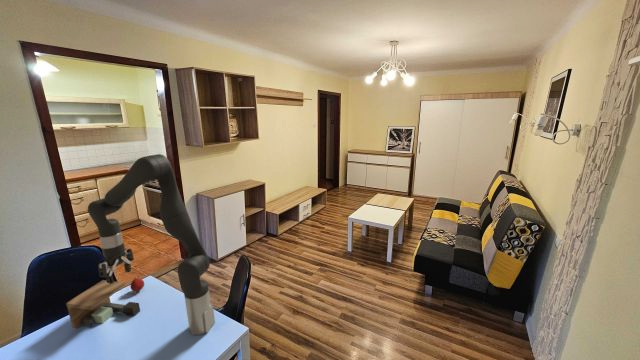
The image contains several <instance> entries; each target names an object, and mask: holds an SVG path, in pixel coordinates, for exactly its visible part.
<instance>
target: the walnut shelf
mask: <svg viewBox="0 0 640 360" xmlns="http://www.w3.org/2000/svg"><path fill="white" fill-rule="evenodd" d="M113 281H114V283H112V284H109V283H107V281H106V279H105V280H104V279H103V280H100V282H97V283H96V284H95V285H93V286H91V287H89V288H88V289H86V290H85V291H83V292H81V293H80V294H78V295H77V296H75V297H74V298H72V299H71V300H69V301H68V302H66V303H65V304H66V308H67V312H68V315H69V319H70V322H71V323H70V324H71V326H72V329H73V330H74V329H75V330H76V329H77V328H80V327H81V326H83V325H82V321H81V320H82V319H83V318H84V317H86V316H87V315H88V314H90V313H91V312H93V311H94V310H95V309H97V308H98V307H100V306H101V305H102V304H104V303H105V302H108V303H112V302H111V298H110V297H111V296H113V295H114V294H116V293H117V292H118V291H120V290H121V289H122V288H124V287H126V283H125V282H122V281H115V280H113Z"/></svg>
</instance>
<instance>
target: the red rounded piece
mask: <svg viewBox="0 0 640 360" xmlns="http://www.w3.org/2000/svg"><path fill="white" fill-rule="evenodd" d="M144 287H145V281H144V279H142V278H139V277H138V276H136V277H135V278H134V279H133V280H132V281H131V282H130V289H131V290H132V291H133V292H140V291H141V290H142V289H143V288H144Z"/></svg>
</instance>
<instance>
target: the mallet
mask: <svg viewBox="0 0 640 360" xmlns="http://www.w3.org/2000/svg"><path fill="white" fill-rule="evenodd" d="M101 307H109V308H112V310H113V313H117V314H124V316H128V317H135V316H137V315H138V314H139V313H140V312H141V307H140V304H139V302H136V301H134V302H133V301H128V302H127V303H126V304H123V303H122V304H121V303H114V302H111V303H108V302H105V303H104V304H102V305H101V306H100V307H98V308H97V309H95V310H94V311H93V312H91V313H90V314H88V315H87V316H86V317H84V318H83V319H82V320H81V321H82V325H81V326H82V327H88V328H89V327H90V328H91V327H92V326H93V325H95V322H93V318H92V314H93V313H94V312H96V311H97V310H99V309H100V308H101Z"/></svg>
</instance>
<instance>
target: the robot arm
mask: <svg viewBox="0 0 640 360" xmlns="http://www.w3.org/2000/svg"><path fill="white" fill-rule="evenodd" d="M173 169H174V168H173V167H172V163H171V161H170V160H169V159H168V157H167V156H165V155H164V154H162V153H161V154H160V153H157V154H153V155H147V156H142V157H140V158H137V160H135V162H133V164H132V166H130V168H129V169H128V170H127V172H126V174H125V175H124V176H123V177H122V178H121V180H119V182H117V183H116V184H115V185H114V186H113V187H112V188H110V189H109V190H108V191H107V192H106V193H105V194H104V197H103V198H100V199H96V200H94V201H92V202H90V203H89V204H88V206H87V213H88V214H89V217H90V218H91V219H92V221H93V223H95V226H96V227H97V231H98V235H99V242H100V243H99V244H100V247H101V250H102V256H103V257H104V262H102V263H99V262H98V264H97V269H98V274H99V277H100V278H105V280H106V281H107V283H109V284H112V283H114V281H115V280H114V278H113V277H114V276H113V272H114V271H115V269H116V268H117V267H118V266H120V265H122V264H123V266H124V271H125V273H130V272H131V271H132V265H131V262H132V261H134V259H135V258H134V254H133V250H132V248H127V247H125V246H126V245H125V242H124V237H123V234H122V230H121V227H120V222H119V220H118V219H117V218H107V216H109V215H112V214H114V213H116V212H118V211H120V210H121V209H122V207H123V205H124V204H125V203H127V202H128V200H130V199H131V198H132V197H134V195H135V193H136V192H137V189H138V188H139V187H140V186H143V185H144V184H146V183H149V182H153V181H157V182H158V185H159V187H160V192H161V193H160V194H161V196H160V206H159V217H160V220H161V222H162V224H163V226H164V229H165V231H166V232H167V233H168V234H169V235H170V236H172V238H174V239H176V241H177V240H178V242H180V243H181V244H182V245H183V246H184V248H185V250H186V253H187V255H188V256H187V257H186V258H185V259H184V260H183V261H181V262H180V263H179V264H178V266H177V277H178V280H179V285H180V289H181V291H182V292H183V295H184V301H185V302H184V304H185V310H186V314H187V322H188V323H187V324H188V329H189V333H190V334H191V335H194V336H199V335H200V336H201V335H203V334H208V333H209V331H210V330H211V329H212V327H213V326H214V324H215V323H216V320H215V319H216V318H215V311H214V304H213V303H211V297H210V288H209V282H208V281H207V280H205V279H201V277H202V276H203V275H204V274H205V273H206V272H207V271H208V270H209V268H210V264H211V263H210V259H209V256H208V254H207V252H206V250H205V248H204V247H203V244H202V243H201V241H200V238H199V237H198V235H197V232H196V230H195V228H194V226H193V223H192V221H191V217H190V215H189V213H188V210H187V208H186V206H185V203H184V200H183V199H182V195H181V193H180V190H179V188H178V184H177V180H176V177H175V174H174V170H173Z"/></svg>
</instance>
